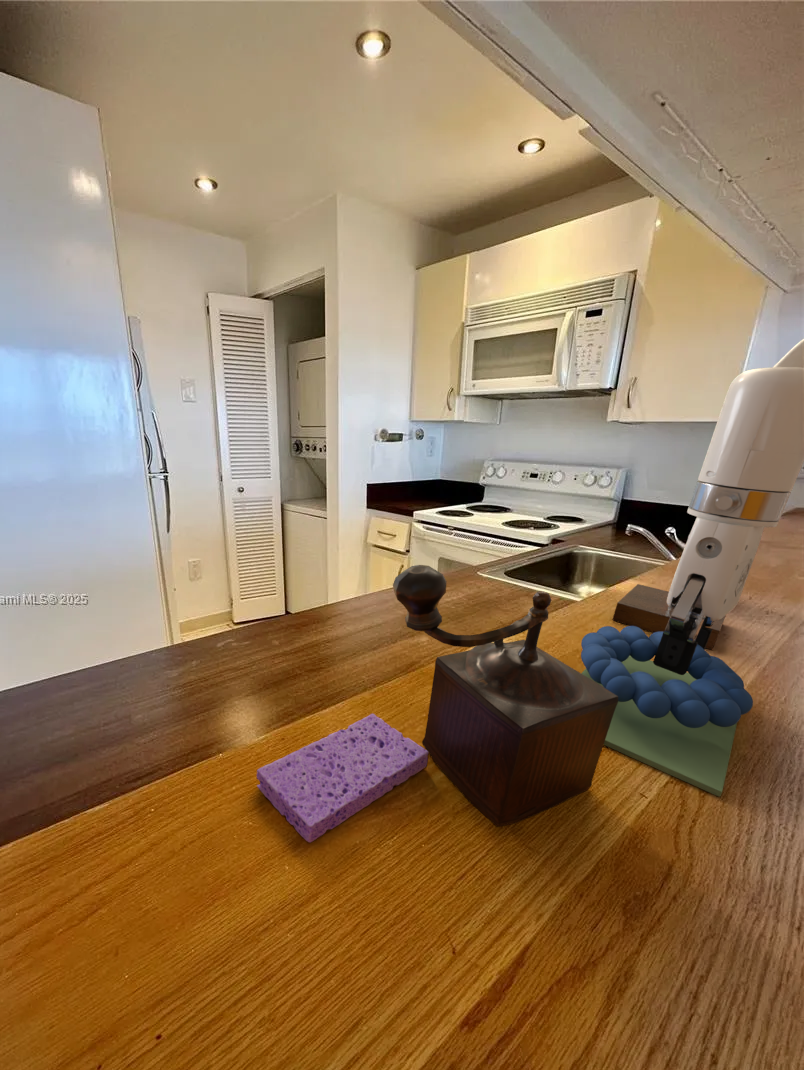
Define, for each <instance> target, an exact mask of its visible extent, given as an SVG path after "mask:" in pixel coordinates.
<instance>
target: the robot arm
mask: <svg viewBox="0 0 804 1070" xmlns="http://www.w3.org/2000/svg"><path fill="white" fill-rule="evenodd" d="M718 415H719V416H718V418H717V421H716V425H715V427H714V429H713V433H712V435H711V440H710V442H709V445H708V448H707V451H706V454H705V457H704V460H703V462H702V466H701V469H700V472H699V475H698V478H697V481H696V484H695V486H694V489H693V490H694V491H693V493H692V496H691V499H690V502H689V505H688V508H687V511H686V513H687V514H689V515H691V516H694V517H696V518H695V521H694V523H693V525H692V528H691V530H690V532H689V534H688V536H687V540H686V543H685V545H684V548H683V551H682V553H681V556H680V558H679V561H678V564H677V566H676V569H675V572H674V575H673V578H672V580H671V584H670V587H669V591H668V592H669V594H668V597H667V604H668V606H669V607H670V608H671V609H672V608H674V609H673V612H672V614H671V616H670V619H669V621H668V624H667V626H666V628H665V631H664V632H663V635H662V638H661V641H660V644H659V646H658V649H657V652H656V655H655V656H654V657H653V660H652V661H653V663H654V664H655V665H656V666H659V667H661V668H664V669H666V670H669V671H672V672H674V673H677V674H679V675H684V674H685V673H686V672H687V670H688V667H689V665H690V662H691V660H692V657H693V654H694V652H695V649H696V647H697V644H698V645H700V646H701V647H702V648H703V649H704V650H705V651H706V648H705V647H706V645H707V642H708V640H709V637H710V635H711V632H712V629H709V628H711V627H712V626H713V624H714V621H717V620H720V619H722V618H723V617H724V616H726V617H727V615H728V614H729V613H731V611H733V610H734V609H735V608H736V607H737V605H738V604H739V602H740V600H741V597H742V594H743V592H744V588H745V585H746V582H747V580H748V577H749V574H750V572H751V569H752V566H753V563H754V560H755V559H756V555H757V552H758V549H759V547H760V544H761V540H762V538H763V537H762V536H763V533H764V531H765V528H776V527H778V525H779V523H780V520H781V518H782V516H783V513H784V510H785V508H786V506H787V503H788V501H789V498H790V496H791V494H792V493H791V492H792V491H793V489H794V486H795V484H796V481H797V479H798V477H799V475H800V472H801V469H802V467H803V464H804V338H802V339H801V340H800V341H799V342H797V344H795V345H794V346H793V347H792V348H790V349H789V350H788V352H786V354H785V355H783V356H782V357H781V358H780V359H779V361H778V362H776V363H775V364H774V365H773V366H772V367H759V368H752V369H748V370H744V371H743V372H741V373H739V374H738V375H737V376H736V377H734V379H733V380H732V381H731V383H730V385H729V387H728V389H727V392H726V394H725V397H724V400H723V402H722V406H721V409H720V412H719V414H718ZM694 608H695V609H694ZM706 627H709V628H706ZM687 673H688V672H687Z"/></svg>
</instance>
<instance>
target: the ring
mask: <svg viewBox="0 0 804 1070" xmlns="http://www.w3.org/2000/svg"><path fill="white" fill-rule="evenodd" d="M662 635H663V631H659V632H655V633H653V632H652V633H651V634H649V636H648V635H647V634H646V633H645V631H644V630H643V629H640V628H639V627H636V626H630V625H627V626H625V627H623V628H622V629H621V630H620V631H619V630H618V628H617V627H614V626H610V625H606V626H602V627H600V628H598V629H597V631H596V632H589V633H586V634H585V635H584V636H583V637H582V639H581V642H580V643H581V644H580V646H581V653H580V659H581V662H582V663H583V665H584V668H585V669H587V671H588V673H589V675H590V677H591V678H592V679H593V680H594V681H595V682H597V683H600V684H602V685H603V687H604V688H606V689H607V690H609V691H610V692H612V693H613V694H615V695H617V696H618V701H619V702H626V701H629V700H631V699H632V700H633V701H634V703H635V704H636V706H637V707H638V709H639V711H640V712H641V713H642V714H644V715H645V716H647V717H650V718H662V717H664V716H665V715H667V714H668V713H669V711H671V713H672V714H673V715H674V717H675V718H676V720H677V721H678V722H679V723H681V724H682V725H684V726H686V727H689V728H699V727H702V726H704V725H705V724H706V723H707V722H708V721H710V722H711V723H713V724H714V725H717V726H721V727H729V726H732V725H735V724H736V723H737V724H738V723H739V721H740V720H741V717H742V716H743V715H746V714H748V713H749V712H750V711H752V709H753V706H754V700H753V699H754V698H753V697H752V695H751V693H750V692H748V690H746V688H745V683H744V680H743V679H742V678H741V676H740V675H739V674H737V672H736V671H734V669H732V668H731V667H730V666H729V665H728V664H727V662H725V661H724V660H723V659H721V658H720V657H717V656H716V655H715V656H714V655H710V654H709V653H708V652H707V651H706V649H705V650H704V649H703V648H702V647H701V646H700V645H698V644H697V647H696V649H695V652H694V654H693V657H692V660H691V662H690V665H689V667H688V670H687V673H689V674H690V675H691V676H692V677H693V678H695V679H697V680H695V681H693V682H692V683H691V684H690V685H689V684H687V683H686V682H684V681H682V680H678V679H672V680H668V681H666V682H665V683H663V684H662V686H661V687H660V685H659V684H658V683H657V681H656V680H655V679H654V677H652V676H651V675H650V674H648V673H646V672H641V671H638V672H634V673H632V674H630V673H629V672H628V670H627V669H626V668H625V666H624V665H623V663H621V662H623V661H625V660H626V659H627V658H628V657H629V656H631V657H632V658H633V659H634V660H636V661H640V662H646V661H649V660H651V661H652V659H654V658H655V655H656V652H657V649H658V646H659V644H660V641H661V638H662Z"/></svg>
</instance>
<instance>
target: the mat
mask: <svg viewBox="0 0 804 1070" xmlns="http://www.w3.org/2000/svg"><path fill="white" fill-rule="evenodd" d="M653 661H654V660H652V659H651V660H649V661H646V662H640V661H636V660H634V659H633V658H632V657H631V656H629V657H628V658H627V659H626V660H625V661H623V662H621V663H623V665H624V666H625V668H626V669H627V670H628V672H629V673H630V674H632V673H634V672H638V671H641V672H646V673H648V674H650V675H651V676H652V677H654V679H655V680H656V681H657V683H658V684H659V685H660V687H661V686H662V684H663V683H665V682H666V681H668V680H672V679H678V680H682V681H684V682H686V683H687V684H689V685H690V684H691V683H692V682H693V681H695V680H697V679H695V678H693V677H692V676H691V675H690V674H689V673H688V672H686V673H685V674H684V675H679V674H677V673H674V672H672V671H669V670H666V669H664V668H661V667H659V666H656V665H655V664H654V663H653ZM580 673H581V674H583V675H585V676H586V677H588V678H589V679H591V680H593V679H592V678H591V677H590V675H589V673H588V671H587V669H586V668H585V669H584V670H582V671H581V672H580ZM593 681H594V680H593ZM594 682H595V681H594ZM596 683H597V682H596ZM598 684H599V685H601V686H602V687H603V685H602V684H600V683H598ZM737 725H738V722H737V723H736V724H735V725H732V726H729V727H721V726H717V725H714V724H713V723H711V722H710V721H708V722H707V723H706V724H705V725H704V726H702V727H699V728H689V727H686V726H684V725H682V724H681V723H679V722H678V721H677V720H676V718H675V717H674V715H673V714H672V713H671V711H669V713H668V714H667V715H665V716H664V717H662V718H650V717H647V716H645V715H644V714H642V713H641V712H640V711H639V709H638V707H637V706H636V704H635V703H634V701H633V700H632V699H631V700H629V701H626V702H619V701H618V703H617V706H616V708H615V711H614V714H613V717H612V720H611V723H610V727H609V730H608V733H607V736H606V739H605V742H604V745H603V746H604V747H608V748H609V749H612V750H614V751H616V752H618V753H621V754H623V755H625V756H627V757H629V758H632V759H634V760H636V761H638V762H640V763H643V764H645V765H647V766H650V767H652V768H655V769H656V770H658V771H660V772H662V773H665V774H667V775H670V776H672V777H674V778H676V779H678V780H681V781H683V782H685V783H687V784H690V785H692V786H694V787H696V788H698V789H700V790H703V791H705V792H707V793H709V794H712V795H714V796H716V797H718V798H721V796H722V794H723V791H724V786H725V782H726V776H727V772H728V768H729V762H730V758H731V753H732V749H733V744H734V739H735V735H736V730H737Z"/></svg>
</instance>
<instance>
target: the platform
mask: <svg viewBox="0 0 804 1070" xmlns="http://www.w3.org/2000/svg"><path fill="white" fill-rule="evenodd" d="M668 594H669V591H667V590H665V589H660V588H656V587H651V586H647V585H644V584H640V583H637V584H636V585H635V586H634V587H632V588H631V590H629V592H628V593H626V594H625V595H624V596H623V597H622V598H621V599H619V601H618V602H617V603H616V606H615V609H614V610H615V611H614V613H613V616H612V619H611V620H612V621H613V622H617V623H619V624H620V623H621V624H624V625H627V626H636V627H639V628H640V629H642V630H643V631H647V632H650V633H652V634H653V633H655V632H659V631H663V632H664V631H665V628H666V626H667V624H668V621H669V619H670V616H671V614H672V612H673V609H674V608H672V609H671V608H670V607H669V606H668V604H667V597H668ZM694 609H695V608H694ZM726 617H727V615H726V616H724V617H723V618H722V619H720V620H717V621H714V624H713V626H712V627H711V628H709V627H706V628H709V629H712V632H711V635H710V637H709V640H708V642H707V645H706V647H705V649H707V650H710V651H712V650H714V647H715V644H716V642H717V640H718V636H719V634H720V631H721V629H722V626H723V624H724V622H725V620H726Z"/></svg>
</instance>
